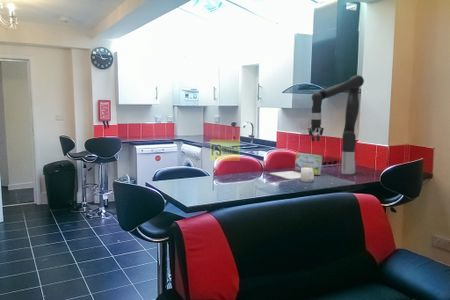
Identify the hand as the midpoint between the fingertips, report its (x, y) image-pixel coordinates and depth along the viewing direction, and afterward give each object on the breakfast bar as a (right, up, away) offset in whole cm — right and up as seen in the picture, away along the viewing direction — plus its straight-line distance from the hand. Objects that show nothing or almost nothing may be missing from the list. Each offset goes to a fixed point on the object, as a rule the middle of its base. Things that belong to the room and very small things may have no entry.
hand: (315, 141), depth 286 cm
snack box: (-7, -25, -1) cm, 26 cm away
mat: (-20, -26, -7) cm, 34 cm away
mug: (-13, -29, -29) cm, 43 cm away
